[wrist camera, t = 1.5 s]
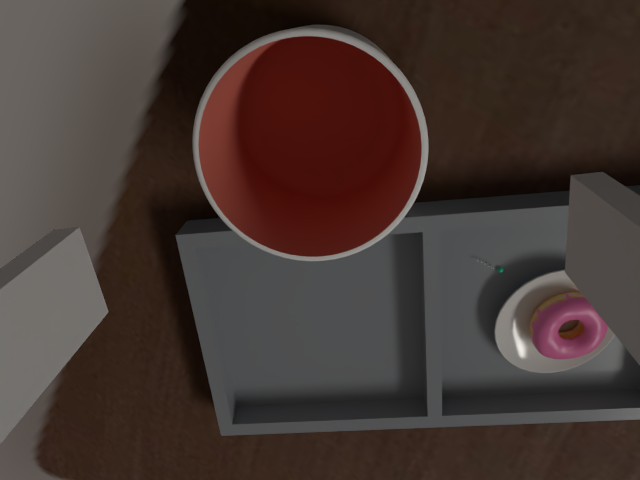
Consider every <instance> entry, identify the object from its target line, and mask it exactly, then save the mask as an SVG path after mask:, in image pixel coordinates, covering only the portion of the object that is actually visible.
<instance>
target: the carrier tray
mask: <svg viewBox="0 0 640 480" xmlns="http://www.w3.org/2000/svg"><path fill="white" fill-rule="evenodd" d="M625 187H627V188H628V189H630V190H632V191H633V192H635V193H636V194H638V195H639V196H640V185H636V186H625ZM569 195H570V191H559V192H546V193H533V194H521V195H508V196H495V197H482V198H469V199H456V200H444V201H431V202H418V203H413V205H412V207H411V208H410V210H409V211H408V213H407V214H406V215H405V217H404V218H403V219H402V220H401V221H400V223H399V224H398V225H397V226H396V227H395V228H394V229H393V230H392V231H391V232H390V233H389V234H387V235H386V236H385V237H383V238H382V239H381V240H379V241H378V242H376V243H375V244H373V245H372V246H370V247H368V248H366V249H364V250H362V251H360V252H357V253H355V254H352V255H349V256H346V257H342V258H338V259H333V260H325V261H301V260H293V259H288V258H283V257H280V256H277V255H273V254H271V253H268V252H266V251H263V250H261V249H259V248H257V247H256V246H254V245H252V244H250V243H249V242H247V241H246V240H244V239H243V238H241V237H240V236H239V235H238V234H236V233H235V232H234V231H233V230H232V229H231V228H229V227H228V226H227V225H226V224H225V223H224V221H223V220H222V219H221V218H213V219H200V220H187V221H186V223H185V224H184V225H183V226H182V228H181V229H180V230H179V231H178V233H177V234H176V240H177V244H178V249H179V253H180V257H181V262H182V266H183V271H184V275H185V279H186V284H187V288H188V292H189V297H190V301H191V306H192V310H193V314H194V319H195V323H196V328H197V332H198V336H199V341H200V345H201V349H202V354H203V358H204V363H205V367H206V371H207V376H208V380H209V385H210V389H211V393H212V398H213V402H214V406H215V411H216V415H217V420H218V424H219V428H220V433H221V436H226V435H252V434H277V433H303V432H328V431H354V430H380V429H405V428H431V427H456V426H482V425H507V424H533V423H558V422H584V421H609V420H635V419H640V365H639V364H638V363H637V362H636V360H635V359H634V358H633V357H632V355H631V354H630V353H629V352H628V350H627V349H626V348H625V347H624V345H623V344H622V343H621V342H620V340H619V339H618V338H617V337H616V335H615V336H614V338H613V339H612V340H611V342H610V343H609V344H608V345H607V347H606V348H604V349H603V350H602V351H601V352H600V353H599V354H598V355H596V356H595V357H593V358H592V359H591V360H589V361H587V362H585V363H583V364H581V365H579V366H577V367H574V368H571V369H568V370H565V371H560V372H554V373H537V372H530V371H527V370H524V369H520V368H518V367H517V366H515V365H513V364H511V363H510V362H509V361H508V360H506V359H505V358H504V357H503V355H502V354H501V353H500V351H499V350H498V347H497V345H496V342H495V335H494V329H495V322H496V319H497V316H498V314H499V311H500V309H501V308H502V306H503V305H504V303H505V302H506V300H507V299H508V298H509V297H510V296H511V295H512V294H513V293H514V292H515V291H516V290H517V289H519V288H520V287H521V286H522V285H524V284H525V283H527V282H529V281H531V280H532V279H534V278H536V277H538V276H541V275H544V274H547V273H549V272H554V271H560V270H565V262H566V245H567V228H568V212H569ZM477 259H478V260H479V261H477ZM480 260H482V263H481V261H480ZM483 262H485V264H486V265H484V263H483ZM487 263H488V264H489V267H488V265H487ZM491 265H492V266H493V268H494V269H492V267H491ZM499 268H503V272H502V273H500V272H498V269H499Z"/></svg>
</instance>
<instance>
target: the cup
mask: <svg viewBox="0 0 640 480" xmlns="http://www.w3.org/2000/svg"><path fill="white" fill-rule="evenodd" d="M193 156H194V163H195V168H196V172H197V175H198V179H199V181H200V184H201V187H202V189H203V191H204V193H205V195H206V197H207V199H208V201H209V203H210V204H211V206H212V207H213V209H214V210H215V212H216V213H217V214H218V216H219V217H220V218H221V219H222V220H223V221H224V223H225V224H226V225H227V226H228V227H229V228H231V229H232V230H233V231H234V232H235V233H236V234H238V235H239V236H240V237H241V238H243V239H244V240H246V241H247V242H249V243H250V244H252V245H254V246H256V247H257V248H259V249H261V250H263V251H266V252H268V253H271V254H273V255H277V256H280V257H283V258H288V259H293V260H301V261H325V260H333V259H338V258H342V257H346V256H349V255H352V254H355V253H357V252H360V251H362V250H364V249H366V248H368V247H370V246H372V245H373V244H375V243H376V242H378V241H379V240H381V239H382V238H383V237H385V236H386V235H387V234H389V233H390V232H391V231H392V230H393V229H394V228H395V227H396V226H397V225H398V224H399V223H400V221H401V220H402V219H403V218H404V217H405V215H406V214H407V213H408V211H409V210H410V208H411V207H412V205H413V203H414V201H415V200H416V198H417V195H418V193H419V191H420V189H421V186H422V183H423V180H424V176H425V172H426V167H427V161H428V133H427V126H426V121H425V117H424V114H423V110H422V107H421V105H420V102H419V100H418V97H417V95H416V93H415V91H414V90H413V88H412V86H411V84H410V83H409V81H408V80H407V79H406V77H405V76H404V74H403V73H402V72H401V71H400V70H399V68H398V67H397V66H396V65H395V64H394V63H393V62H392V61H391V60H390V59H389V57H388V56H387V55H386V54H385V53H384V52H383V51H382V50H381V49H380V48H379V47H378V46H377V45H375V44H374V43H373V42H371V41H370V40H368V39H367V38H365V37H364V36H362V35H360V34H358V33H356V32H354V31H351V30H349V29H346V28H342V27H338V26H332V25H308V26H302V27H297V28H292V29H287V30H282V31H278V32H275V33H271V34H268V35H265V36H263V37H261V38H259V39H256V40H254V41H253V42H251V43H249V44H247V45H246V46H244V47H243V48H241V49H240V50H238V51H237V52H236V53H235V54H233V55H232V56H231V57H230V58H229V59H228V60H227V61H226V62H225V63H224V64H223V65H222V66H221V67H220V68H219V69H218V71H217V72H216V73H215V75H214V76H213V77H212V79H211V81H210V82H209V84H208V86H207V87H206V89H205V91H204V93H203V96H202V98H201V100H200V103H199V106H198V109H197V112H196V116H195V121H194V128H193Z"/></svg>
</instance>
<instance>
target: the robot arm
mask: <svg viewBox="0 0 640 480" xmlns="http://www.w3.org/2000/svg"><path fill="white" fill-rule="evenodd" d="M565 273H566V275H567V276H568V277H569V278H570V280H571V281H572V282H573V283H574V284H575V286H576V287H577V288H578V289H579V291H580V292H581V293H582V294H583V296H584V297H585V298H586V299H587V301H588V302H589V303H590V304H591V306H592V307H593V308H594V309H595V311H596V312H597V313H598V314H599V316H600V317H601V318H602V319H603V321H604V322H605V323H606V324H607V326H608V327H609V328H610V329H611V330H612V332H613V333H614V334H615V335H616V337H617V338H618V339H619V340H620V342H621V343H622V344H623V345H624V347H625V348H626V349H627V350H628V352H629V353H630V354H631V355H632V357H633V358H634V359H635V360H636V362H637V363H638V364H639V365H640V196H639V195H638V194H636V193H635V192H633V191H632V190H630V189H628V188H627V187H625V186H624V185H622V184H621V183H619V182H618V181H616V180H615V179H613V178H612V177H610V176H608V175H607V174H605V173H604V172H596V173H587V174H577V175H571V179H570V195H569V212H568V228H567V245H566V262H565ZM107 313H108V309H107V306H106V303H105V300H104V297H103V294H102V292H101V289H100V286H99V283H98V280H97V277H96V274H95V271H94V268H93V265H92V262H91V259H90V257H89V254H88V251H87V248H86V245H85V242H84V239H83V236H82V233H81V230H80V227H76V228H67V229H59V230H53V231H52V232H50V233H49V234H48V235H46V236H45V237H43V238H42V239H41V240H39V241H38V242H36V243H35V244H34V245H32V246H31V247H30V248H28V249H27V250H25V251H24V252H23V253H21V254H20V255H19V256H18V257H16V258H15V259H13V260H12V261H10V262H9V263H8V264H6V265H5V266H4V267H2V268H1V269H0V444H1V443H2V441H3V440H4V439H5V438H6V437H7V435H8V434H9V433H10V432H11V430H12V429H13V428H14V427H15V426H16V424H17V423H18V422H19V421H20V419H21V418H22V417H23V416H24V415H25V413H26V412H27V411H28V410H29V408H30V407H31V406H32V405H33V403H34V402H35V401H36V400H37V399H38V397H39V396H40V395H41V394H42V392H43V391H44V390H45V389H46V388H47V386H48V385H49V384H50V382H52V380H53V379H54V378H55V377H56V375H57V374H58V373H59V372H60V371H61V369H62V368H63V367H64V366H65V364H66V363H67V362H68V361H69V360H70V358H71V357H72V356H73V355H74V353H75V352H76V351H77V350H78V349H79V347H80V346H81V345H82V344H83V342H84V341H85V340H86V339H87V338H88V336H89V335H90V334H91V333H92V331H93V330H94V329H95V328H96V327H97V325H98V324H99V323H100V322H101V320H102V319H103V318H104V317H105V316H106V314H107Z"/></svg>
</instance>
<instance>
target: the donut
mask: <svg viewBox="0 0 640 480" xmlns="http://www.w3.org/2000/svg"><path fill="white" fill-rule="evenodd" d="M477 261H479V260H478V259H477ZM480 261H481V263H482V260H480ZM483 263H484V265H486V264H485V262H483ZM487 265H488V267H489V264H488V263H487ZM491 267H492V269H494V268H493V266H492V265H491ZM498 272H500V273H502V272H503V268H499V269H498ZM494 335H495V342H496V345H497V347H498V350H499V351H500V353H501V354H502V355H503V357H504V358H505V359H506V360H508V361H509V362H510V363H511V364H513V365H515V366H517V367H518V368H520V369H524V370H527V371H530V372H537V373H554V372H560V371H565V370H568V369H571V368H574V367H577V366H579V365H581V364H583V363H585V362H587V361H589V360H591V359H592V358H593V357H595V356H596V355H598V354H599V353H600V352H601V351H602V350H603V349H604V348H606V347H607V345H608V344H609V343H610V342H611V340H612V339H613V338H614V336H615V334H614V333H613V332H612V330H611V329H610V328H609V327H608V326H607V324H606V323H605V322H604V321H603V319H602V318H601V317H600V316H599V314H598V313H597V312H596V311H595V309H594V308H593V307H592V306H591V304H590V303H589V302H588V301H587V299H586V298H585V297H584V296H583V294H582V293H581V292H580V291H579V289H578V288H577V287H576V286H575V284H574V283H573V282H572V281H571V280H570V278H569V277H568V276H567V275H566V273H565V270H560V271H554V272H549V273H547V274H544V275H541V276H538V277H536V278H534V279H532V280H531V281H529V282H527V283H525V284H524V285H522V286H521V287H520V288H519V289H517V290H516V291H515V292H514V293H513V294H512V295H511V296H510V297H509V298H508V299H507V300H506V302H505V303H504V305H503V306H502V308H501V309H500V311H499V314H498V316H497V319H496V322H495V329H494Z"/></svg>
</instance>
